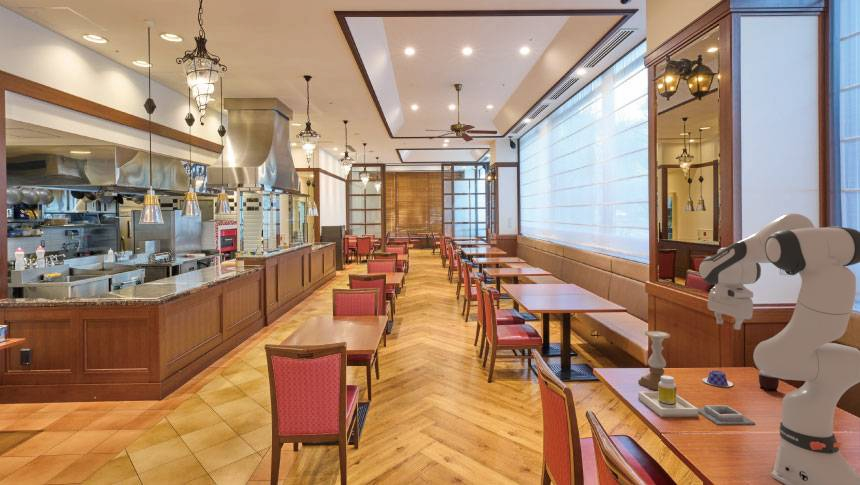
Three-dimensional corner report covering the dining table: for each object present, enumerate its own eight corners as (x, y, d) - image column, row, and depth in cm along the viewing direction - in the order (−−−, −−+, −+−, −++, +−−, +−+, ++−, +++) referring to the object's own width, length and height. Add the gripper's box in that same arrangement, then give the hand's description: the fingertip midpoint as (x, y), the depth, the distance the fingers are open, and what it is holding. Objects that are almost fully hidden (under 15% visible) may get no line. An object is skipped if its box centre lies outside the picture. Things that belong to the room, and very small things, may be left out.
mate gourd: (780, 389, 195) (781, 356, 194) (776, 394, 190) (776, 359, 189) (759, 385, 201) (760, 352, 200) (754, 389, 195) (755, 355, 195)
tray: (698, 416, 168) (698, 408, 168) (661, 417, 168) (661, 409, 167) (671, 398, 186) (671, 391, 186) (638, 398, 186) (638, 391, 185)
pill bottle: (678, 408, 173) (678, 380, 173) (660, 407, 174) (661, 379, 174) (672, 402, 179) (673, 375, 179) (656, 401, 180) (656, 374, 180)
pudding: (696, 379, 209) (696, 368, 209) (718, 378, 211) (719, 367, 211) (715, 388, 197) (716, 377, 197) (739, 387, 199) (740, 375, 199)
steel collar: (755, 424, 161) (755, 417, 161) (716, 424, 161) (717, 418, 161) (728, 408, 175) (728, 402, 175) (693, 409, 175) (693, 402, 175)
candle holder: (637, 383, 203) (638, 332, 203) (654, 380, 208) (654, 329, 207) (659, 391, 193) (659, 337, 193) (675, 387, 198) (676, 334, 197)
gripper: (703, 286, 178) (702, 320, 178) (739, 293, 157) (738, 332, 158) (718, 286, 178) (718, 320, 178) (757, 293, 157) (756, 332, 158)
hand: (728, 326), depth 168 cm, fingers open, 8 cm apart
